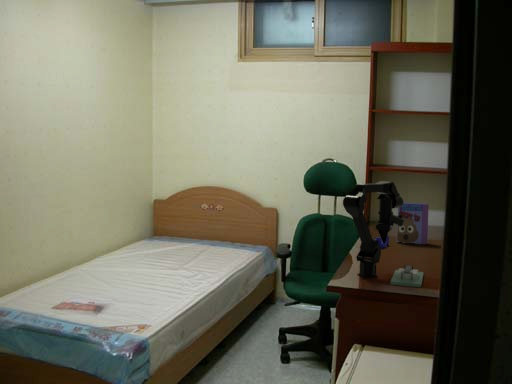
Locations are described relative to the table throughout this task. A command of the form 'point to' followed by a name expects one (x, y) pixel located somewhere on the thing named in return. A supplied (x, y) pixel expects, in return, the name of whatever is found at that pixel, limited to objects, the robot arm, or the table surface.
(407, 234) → the cereal box
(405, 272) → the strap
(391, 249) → the table surface
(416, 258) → the table surface
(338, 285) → the table surface
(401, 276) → the heat sink
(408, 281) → the circuit board
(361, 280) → the table surface
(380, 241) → the cable clip
